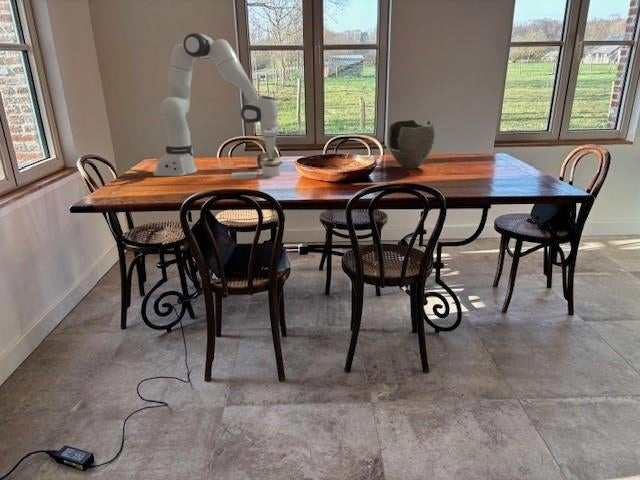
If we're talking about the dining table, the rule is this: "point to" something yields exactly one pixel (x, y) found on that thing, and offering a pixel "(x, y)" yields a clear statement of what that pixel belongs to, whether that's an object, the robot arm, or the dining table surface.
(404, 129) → the clay pot
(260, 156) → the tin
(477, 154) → the dining table surface
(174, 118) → the robot arm
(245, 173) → the mat
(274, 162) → the lid
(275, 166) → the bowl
